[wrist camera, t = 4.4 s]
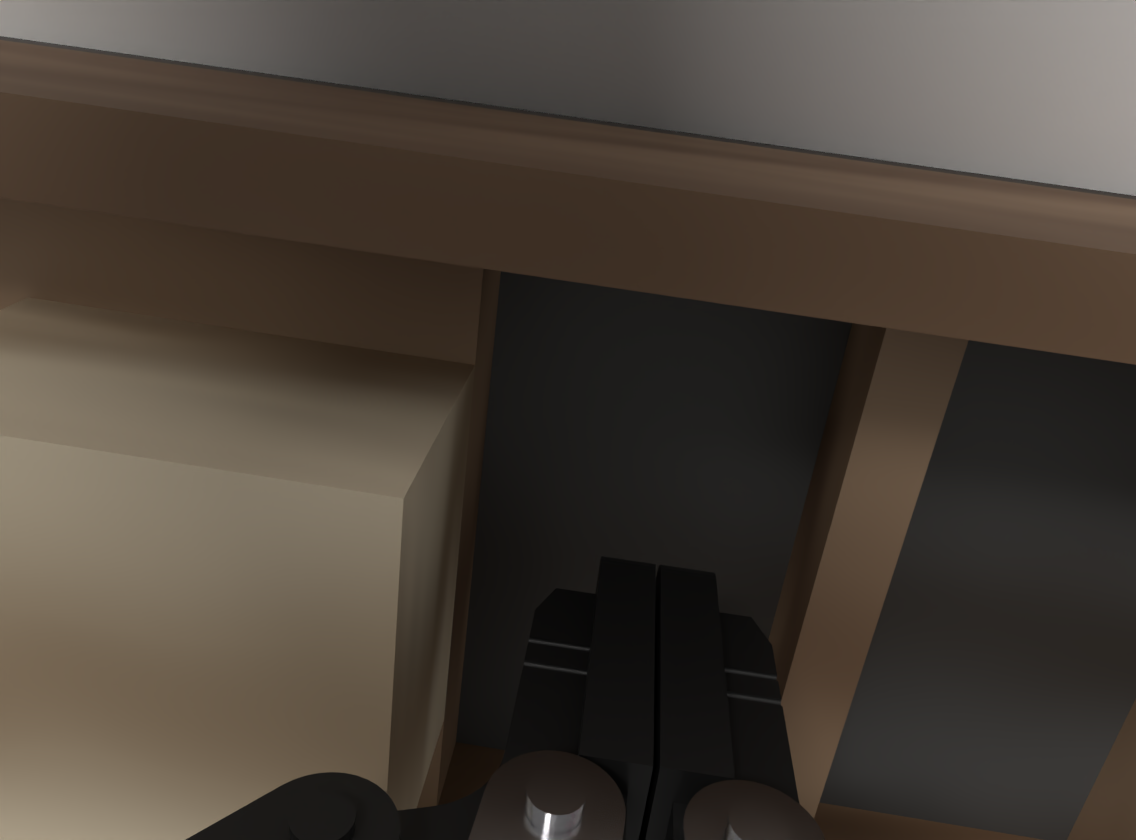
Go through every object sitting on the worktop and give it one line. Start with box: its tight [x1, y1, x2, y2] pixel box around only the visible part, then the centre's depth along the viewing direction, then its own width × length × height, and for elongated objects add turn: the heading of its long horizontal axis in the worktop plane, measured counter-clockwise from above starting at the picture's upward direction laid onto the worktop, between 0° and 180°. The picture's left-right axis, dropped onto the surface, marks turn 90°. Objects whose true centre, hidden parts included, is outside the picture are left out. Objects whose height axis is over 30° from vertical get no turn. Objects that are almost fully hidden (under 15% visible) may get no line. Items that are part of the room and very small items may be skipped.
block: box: [0, 298, 475, 840], centre depth 12 cm, size 6×6×4 cm
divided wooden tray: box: [0, 36, 1136, 840], centre depth 13 cm, size 12×26×4 cm, turn 83°
